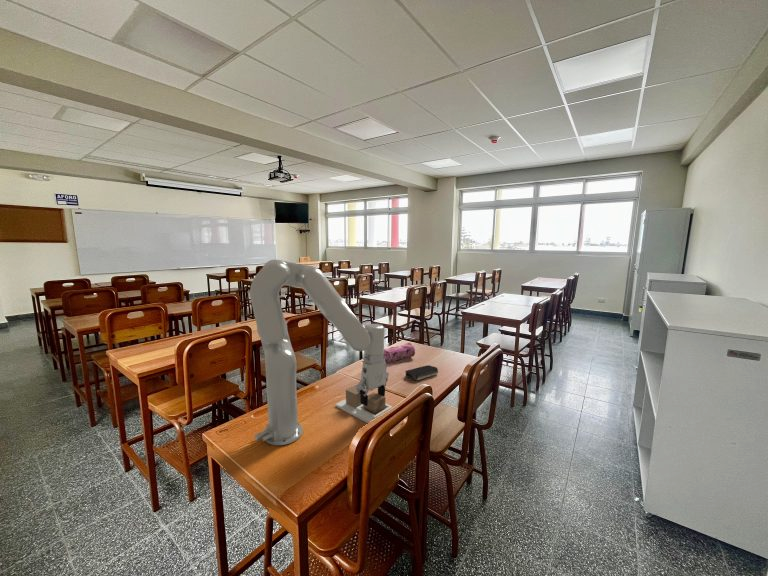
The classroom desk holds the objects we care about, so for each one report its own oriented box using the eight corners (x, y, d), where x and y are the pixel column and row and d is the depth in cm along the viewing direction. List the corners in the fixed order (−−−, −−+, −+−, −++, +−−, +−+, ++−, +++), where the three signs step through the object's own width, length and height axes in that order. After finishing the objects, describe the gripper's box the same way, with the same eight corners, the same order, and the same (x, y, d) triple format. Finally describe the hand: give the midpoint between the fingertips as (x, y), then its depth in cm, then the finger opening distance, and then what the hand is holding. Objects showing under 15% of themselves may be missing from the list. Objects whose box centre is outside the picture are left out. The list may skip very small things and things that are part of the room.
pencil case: (385, 367, 166) (386, 351, 164) (376, 361, 173) (376, 346, 172) (416, 359, 177) (416, 344, 176) (406, 354, 185) (406, 340, 184)
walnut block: (374, 418, 115) (374, 403, 114) (363, 412, 119) (363, 397, 118) (385, 411, 119) (385, 397, 118) (373, 406, 123) (373, 392, 122)
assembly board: (375, 427, 111) (375, 409, 110) (335, 406, 125) (335, 390, 124) (396, 413, 120) (396, 396, 119) (356, 395, 134) (356, 380, 133)
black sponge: (414, 383, 147) (414, 375, 146) (403, 376, 154) (404, 369, 153) (439, 375, 156) (439, 368, 155) (428, 369, 163) (428, 363, 162)
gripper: (365, 365, 107) (364, 412, 109) (396, 353, 120) (394, 395, 122) (350, 360, 112) (349, 404, 114) (381, 349, 125) (380, 389, 127)
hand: (372, 399), depth 118 cm, fingers open, 9 cm apart
